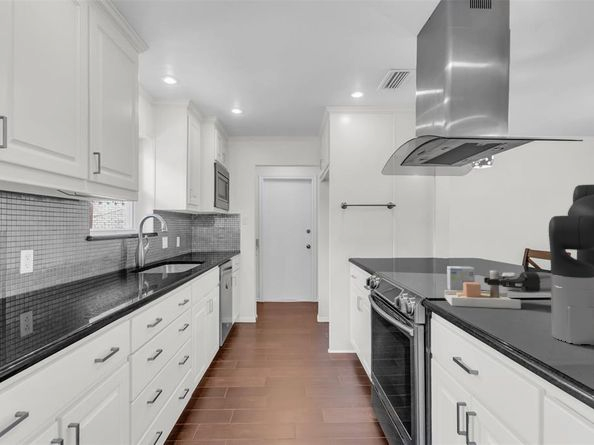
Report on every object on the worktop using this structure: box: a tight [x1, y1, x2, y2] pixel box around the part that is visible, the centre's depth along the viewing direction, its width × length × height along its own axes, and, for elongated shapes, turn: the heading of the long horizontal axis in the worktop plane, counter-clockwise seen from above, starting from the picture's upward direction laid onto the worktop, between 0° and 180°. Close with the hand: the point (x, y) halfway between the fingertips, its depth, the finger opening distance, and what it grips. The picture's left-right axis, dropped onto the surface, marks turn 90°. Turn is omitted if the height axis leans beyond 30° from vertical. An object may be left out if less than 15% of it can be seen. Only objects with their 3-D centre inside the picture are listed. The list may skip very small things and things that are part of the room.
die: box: [501, 272, 520, 292], centre depth 150 cm, size 8×9×10 cm
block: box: [463, 281, 482, 297], centre depth 129 cm, size 5×5×5 cm
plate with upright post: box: [456, 269, 502, 299], centre depth 128 cm, size 11×14×11 cm
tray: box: [444, 289, 522, 310], centre depth 128 cm, size 14×23×3 cm, turn 76°
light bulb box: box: [446, 265, 476, 291], centre depth 151 cm, size 11×7×11 cm, turn 78°
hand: (486, 281), depth 127 cm, fingers closed on plate with upright post, 3 cm apart
